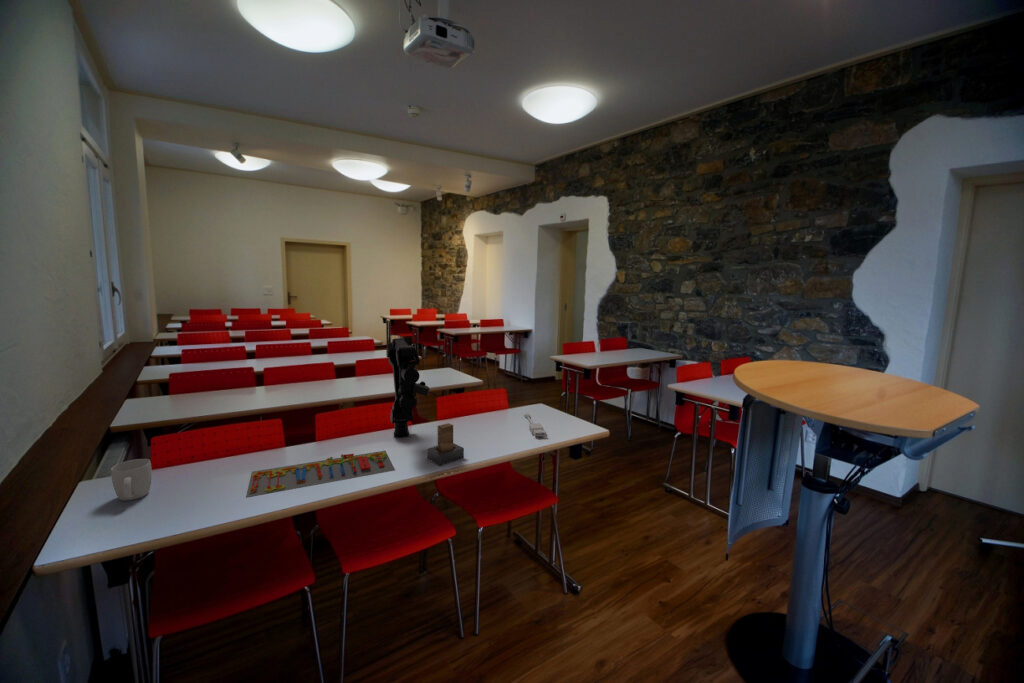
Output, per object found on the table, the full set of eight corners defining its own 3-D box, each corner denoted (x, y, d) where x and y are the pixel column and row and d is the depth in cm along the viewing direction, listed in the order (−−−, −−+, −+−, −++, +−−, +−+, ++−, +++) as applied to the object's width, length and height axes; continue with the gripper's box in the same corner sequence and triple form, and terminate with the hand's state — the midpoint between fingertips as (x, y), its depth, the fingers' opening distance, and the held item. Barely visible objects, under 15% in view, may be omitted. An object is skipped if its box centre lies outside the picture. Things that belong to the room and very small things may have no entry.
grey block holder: (427, 458, 159) (427, 448, 158) (450, 451, 166) (450, 441, 166) (440, 466, 153) (440, 455, 152) (463, 458, 160) (463, 448, 160)
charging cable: (530, 417, 214) (530, 410, 213) (545, 437, 182) (545, 430, 182) (520, 417, 213) (521, 411, 213) (534, 438, 181) (534, 430, 181)
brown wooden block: (437, 459, 159) (437, 425, 157) (448, 455, 162) (448, 423, 161) (442, 461, 157) (442, 428, 155) (453, 457, 160) (453, 425, 158)
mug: (118, 493, 130) (114, 462, 129) (155, 486, 135) (152, 456, 134) (107, 512, 120) (103, 478, 118) (148, 503, 125) (145, 471, 123)
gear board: (385, 446, 166) (395, 465, 149) (385, 452, 166) (395, 472, 149) (251, 466, 146) (245, 491, 129) (252, 473, 146) (246, 499, 129)
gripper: (430, 382, 159) (430, 422, 161) (425, 372, 176) (426, 408, 179) (399, 384, 155) (400, 424, 158) (398, 373, 173) (398, 410, 175)
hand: (407, 416), depth 167 cm, fingers open, 9 cm apart
